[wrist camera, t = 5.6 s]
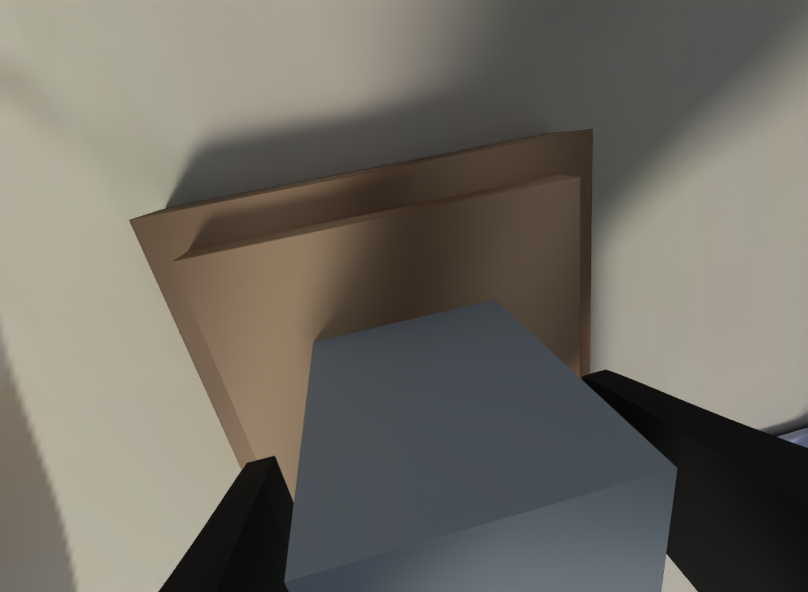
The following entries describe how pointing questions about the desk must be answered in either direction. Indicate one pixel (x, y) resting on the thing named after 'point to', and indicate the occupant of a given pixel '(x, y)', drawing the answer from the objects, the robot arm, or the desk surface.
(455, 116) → the desk surface
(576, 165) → the plinth
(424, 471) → the slate block
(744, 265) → the desk surface
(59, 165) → the desk surface
